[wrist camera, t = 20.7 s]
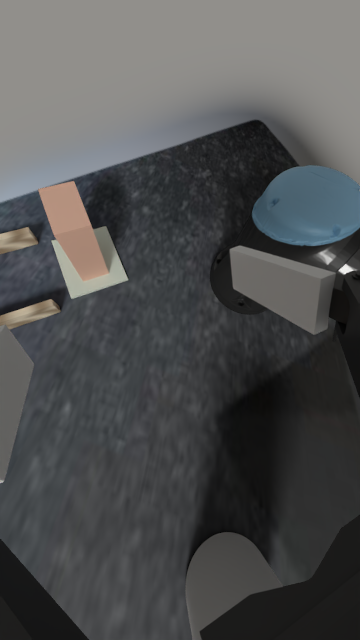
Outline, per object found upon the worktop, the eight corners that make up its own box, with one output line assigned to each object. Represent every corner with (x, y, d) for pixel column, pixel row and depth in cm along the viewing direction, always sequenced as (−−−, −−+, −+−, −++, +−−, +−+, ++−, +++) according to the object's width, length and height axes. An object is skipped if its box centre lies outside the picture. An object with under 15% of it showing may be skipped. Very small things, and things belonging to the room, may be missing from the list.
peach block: (95, 239, 47) (73, 181, 34) (108, 273, 45) (91, 225, 32) (70, 247, 46) (37, 189, 33) (83, 281, 44) (54, 235, 31)
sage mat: (106, 227, 49) (105, 225, 48) (128, 280, 46) (128, 279, 46) (52, 242, 46) (51, 240, 46) (71, 299, 44) (71, 298, 43)
